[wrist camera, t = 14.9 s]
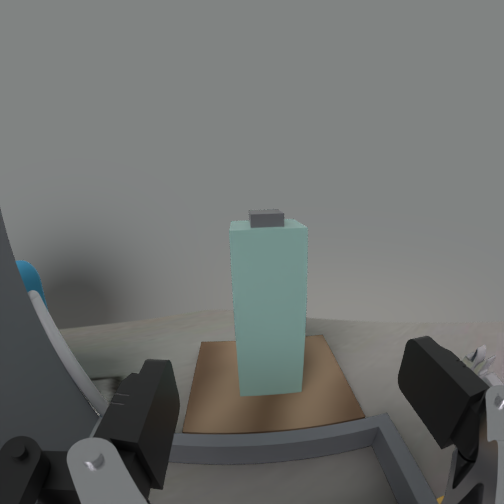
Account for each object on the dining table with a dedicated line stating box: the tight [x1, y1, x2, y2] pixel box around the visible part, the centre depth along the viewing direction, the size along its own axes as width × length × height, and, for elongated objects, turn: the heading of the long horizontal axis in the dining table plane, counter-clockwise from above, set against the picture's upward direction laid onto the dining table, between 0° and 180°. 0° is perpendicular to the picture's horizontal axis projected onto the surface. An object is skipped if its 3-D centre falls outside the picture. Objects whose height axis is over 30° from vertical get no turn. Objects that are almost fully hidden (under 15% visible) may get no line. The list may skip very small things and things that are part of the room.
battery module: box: [229, 209, 308, 396], centre depth 20 cm, size 4×4×13 cm
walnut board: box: [182, 335, 365, 434], centre depth 21 cm, size 12×12×1 cm
